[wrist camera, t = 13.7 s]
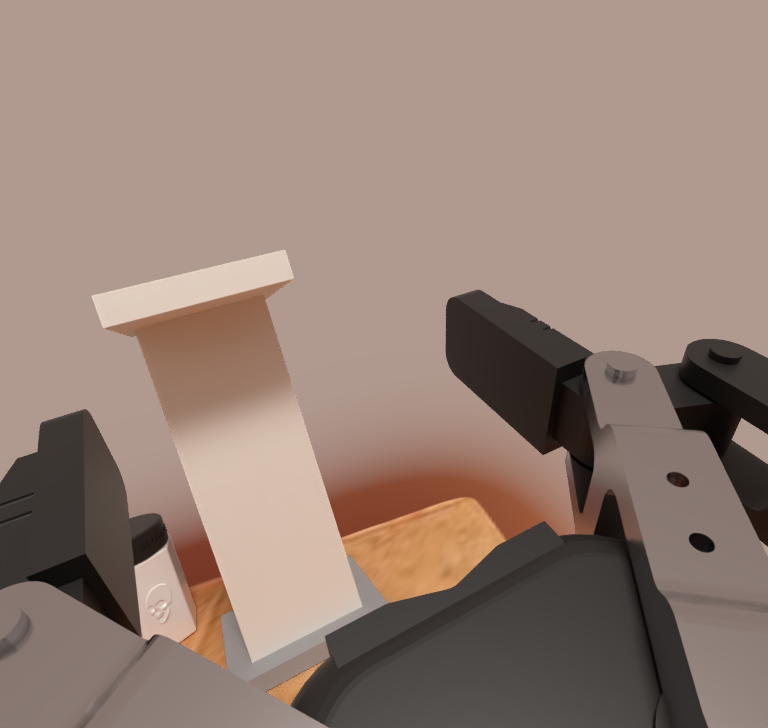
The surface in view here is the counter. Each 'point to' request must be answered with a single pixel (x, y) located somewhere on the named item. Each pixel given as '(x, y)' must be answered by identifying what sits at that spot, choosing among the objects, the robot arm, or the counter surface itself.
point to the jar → (160, 581)
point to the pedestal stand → (246, 461)
